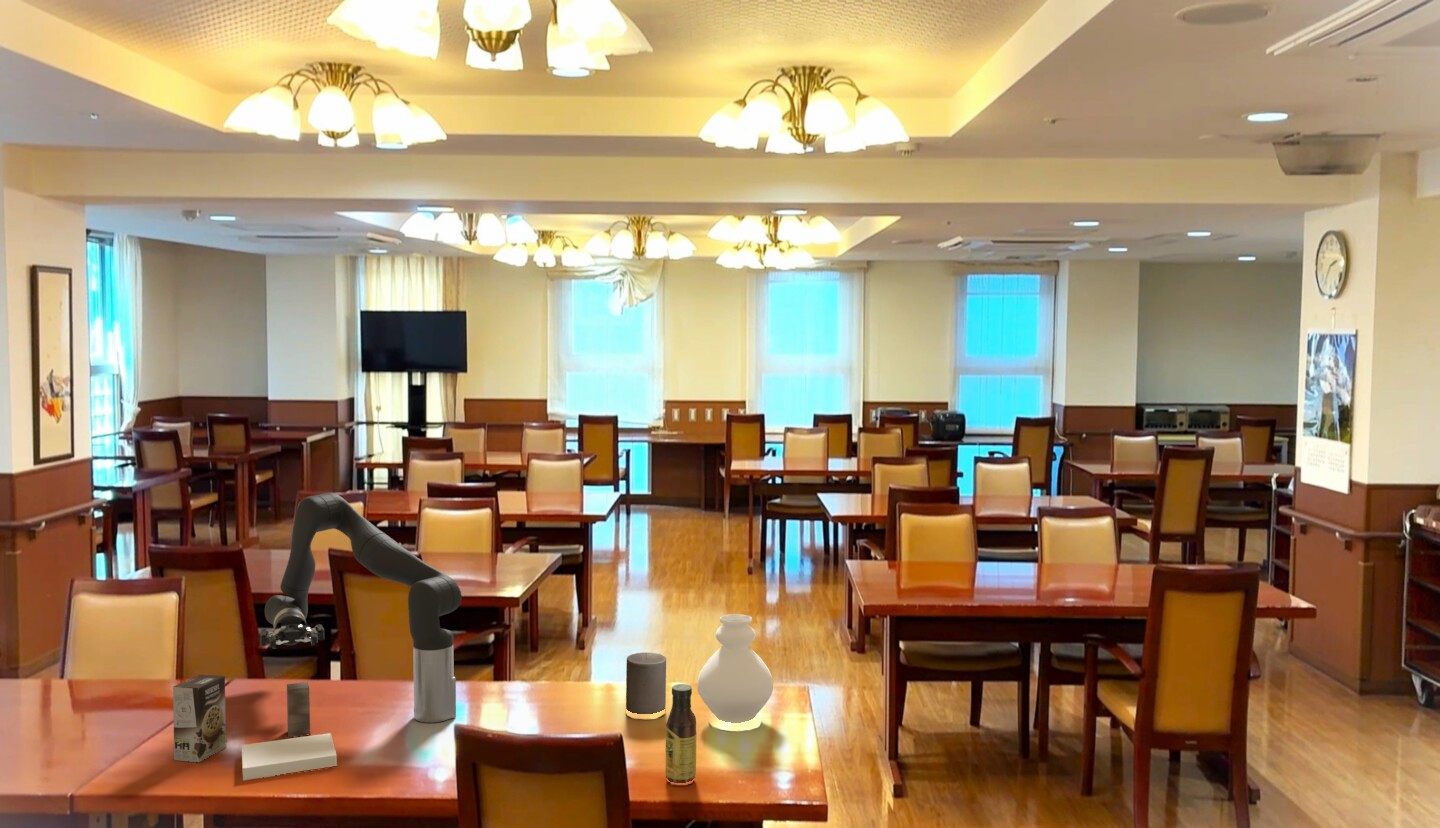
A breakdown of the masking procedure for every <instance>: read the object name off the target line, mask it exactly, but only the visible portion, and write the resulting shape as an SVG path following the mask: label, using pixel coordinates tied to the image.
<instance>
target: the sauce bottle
mask: <svg viewBox="0 0 1440 828" xmlns="http://www.w3.org/2000/svg"><path fill="white" fill-rule="evenodd" d="M692 691H693V688H692V686H691V685H689V684H687V683H678V684H675V685H673V686H672V687H671V695H672V704H671V709H670V712H669V714H668V717H667V720H666V723H665V779H666V778H667V779H668V780H669V781H670V782H674V783H686V782H689V781H692V780H693V779H694V778H695V779H696V775H697V736H698V735H697V734H698V733H697V718H696V715H695V713H694V712H693V710H692V703H691V702H692V701H691V700H692V693H693V692H692Z"/></svg>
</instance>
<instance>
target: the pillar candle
mask: <svg viewBox="0 0 1440 828" xmlns="http://www.w3.org/2000/svg"><path fill="white" fill-rule="evenodd" d="M625 671H626V672H625V673H626V674H625V675H626V680H625V681H626V683H625V684H626V685H625V687H626V691H625V698H626V699H625V710H626V709H627V710H628V711H630V712H632V713H637V714H653V713H657V712H660V711H662V710H664V709H665V710H666V706H667V705H666V701H667V699H666V697H667V657H666V656H665V655H664V654H661V653H657V652H636V653H632V654H630V655H628V656H627V657H626V670H625Z"/></svg>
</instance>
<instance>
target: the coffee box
mask: <svg viewBox="0 0 1440 828" xmlns="http://www.w3.org/2000/svg"><path fill="white" fill-rule="evenodd" d="M225 677H226V676H224V675H216V674H215V675H214V674H213V675H211V674H207V675H206V674H198V675H197V676H194V677H193V678H189V679H187V680H185V681H183V682H181V683H178V684H175V685H174V686H172V690H173V691H172V694H173V695H172V697H173V699H172V701H173V702H172V703H173V704H172V705H173V707H172V708H173V713H172V714H173V717H172V718H173V760H174V761H181V762H188V761H189V762H188V763H196V762H198V763H201V762H203V761H205V760H206V759H208V758H210V757H212V756H213V754H214V755H216V754H218V753H219V752H221V751H222V749H223V750H225V749H226V748H227V731H226V729H227V726H226V725H227V724H226V722H227V721H226V717H227V716H226V678H225ZM224 748H225V749H224ZM215 753H216V754H215ZM211 755H212V756H211ZM209 756H210V757H209ZM204 759H205V760H204Z"/></svg>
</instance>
